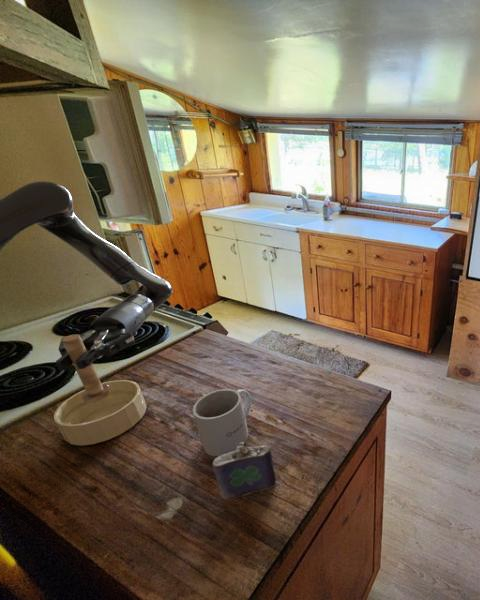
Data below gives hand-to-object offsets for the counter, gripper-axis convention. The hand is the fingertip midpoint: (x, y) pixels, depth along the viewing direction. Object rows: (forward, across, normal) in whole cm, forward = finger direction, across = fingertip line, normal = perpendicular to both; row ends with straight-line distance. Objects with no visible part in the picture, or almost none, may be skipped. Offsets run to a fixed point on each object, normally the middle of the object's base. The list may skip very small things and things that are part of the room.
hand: (70, 365), depth 63 cm
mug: (+5, +28, +18) cm, 33 cm away
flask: (+19, +34, +18) cm, 43 cm away
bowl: (-3, 0, +17) cm, 18 cm away
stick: (-3, 0, +10) cm, 10 cm away
